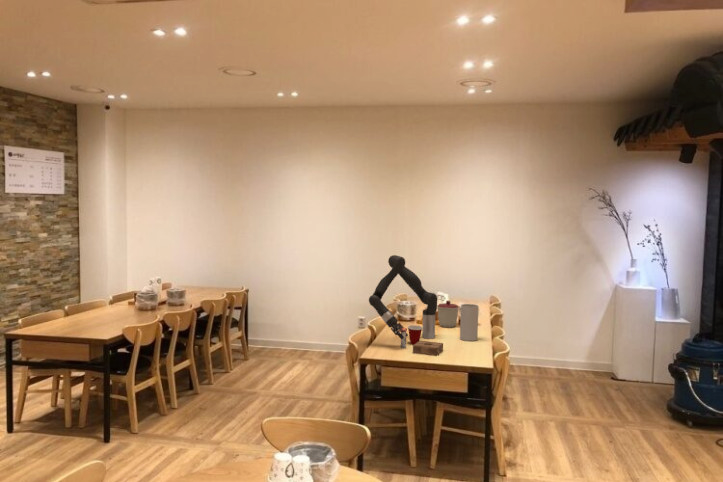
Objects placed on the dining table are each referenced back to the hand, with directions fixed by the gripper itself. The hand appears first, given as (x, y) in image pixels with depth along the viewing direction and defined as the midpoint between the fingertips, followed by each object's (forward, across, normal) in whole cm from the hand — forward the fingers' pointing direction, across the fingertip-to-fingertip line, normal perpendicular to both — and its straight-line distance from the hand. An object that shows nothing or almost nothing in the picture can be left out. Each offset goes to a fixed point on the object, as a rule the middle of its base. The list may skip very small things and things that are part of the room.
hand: (405, 337), depth 386 cm
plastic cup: (+7, +16, +4) cm, 18 cm away
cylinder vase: (+28, +48, -18) cm, 59 cm away
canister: (+10, +88, 0) cm, 89 cm away
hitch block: (+17, -2, -7) cm, 19 cm away
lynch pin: (+4, 0, +6) cm, 7 cm away
